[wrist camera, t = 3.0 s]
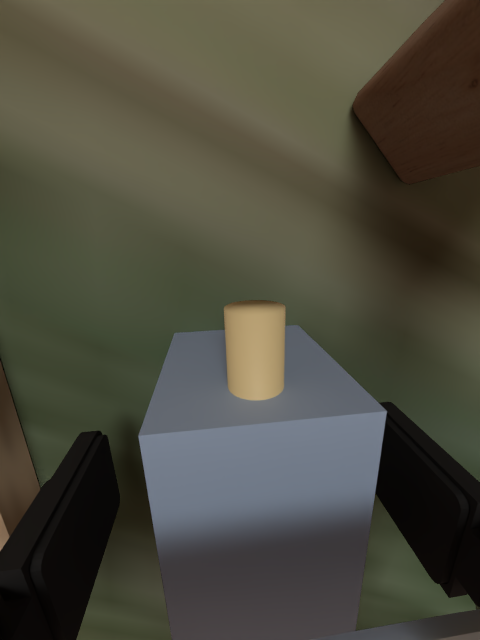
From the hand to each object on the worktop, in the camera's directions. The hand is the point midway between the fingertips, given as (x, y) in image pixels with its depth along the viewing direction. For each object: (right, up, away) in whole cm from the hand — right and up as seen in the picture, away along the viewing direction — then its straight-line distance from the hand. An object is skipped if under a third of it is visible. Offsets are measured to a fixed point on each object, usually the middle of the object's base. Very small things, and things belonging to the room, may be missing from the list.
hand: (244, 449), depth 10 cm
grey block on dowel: (0, 0, +2) cm, 3 cm away
